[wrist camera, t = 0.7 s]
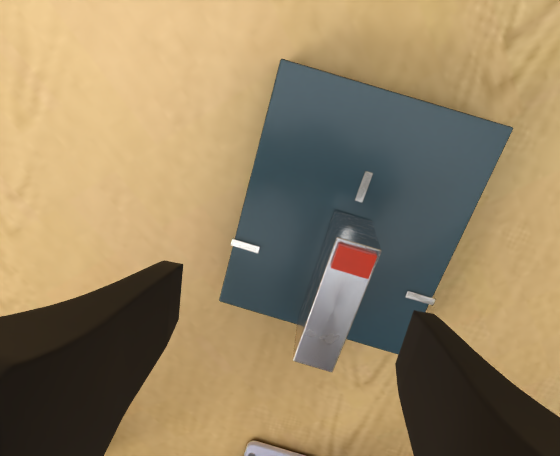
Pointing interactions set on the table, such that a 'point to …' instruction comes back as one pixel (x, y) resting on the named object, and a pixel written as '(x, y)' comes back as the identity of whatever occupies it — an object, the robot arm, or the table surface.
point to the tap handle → (335, 290)
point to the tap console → (357, 195)
